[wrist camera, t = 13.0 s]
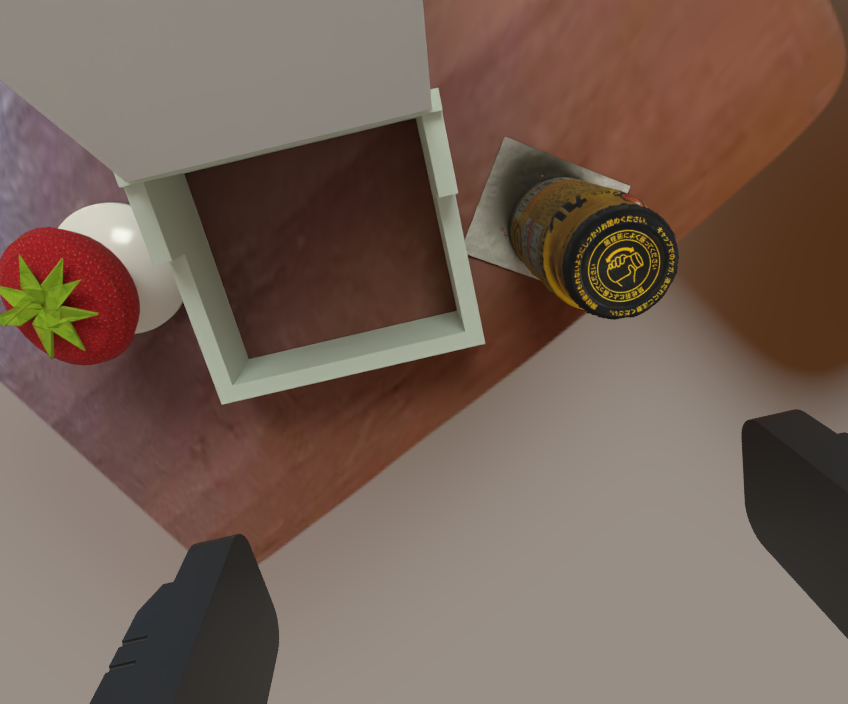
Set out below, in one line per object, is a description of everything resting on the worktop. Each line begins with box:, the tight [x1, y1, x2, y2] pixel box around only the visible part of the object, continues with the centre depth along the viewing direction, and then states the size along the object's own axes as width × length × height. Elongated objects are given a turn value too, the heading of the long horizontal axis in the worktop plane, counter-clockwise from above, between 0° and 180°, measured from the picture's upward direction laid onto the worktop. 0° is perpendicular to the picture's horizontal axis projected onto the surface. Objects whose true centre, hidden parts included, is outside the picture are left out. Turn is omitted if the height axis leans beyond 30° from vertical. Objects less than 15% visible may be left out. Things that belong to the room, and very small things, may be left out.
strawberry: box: [0, 227, 140, 365], centre depth 32 cm, size 6×8×10 cm
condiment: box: [465, 137, 679, 319], centre depth 33 cm, size 7×8×12 cm
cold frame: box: [0, 0, 485, 404], centre depth 29 cm, size 20×16×18 cm
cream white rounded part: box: [58, 202, 183, 334], centre depth 37 cm, size 8×8×1 cm
